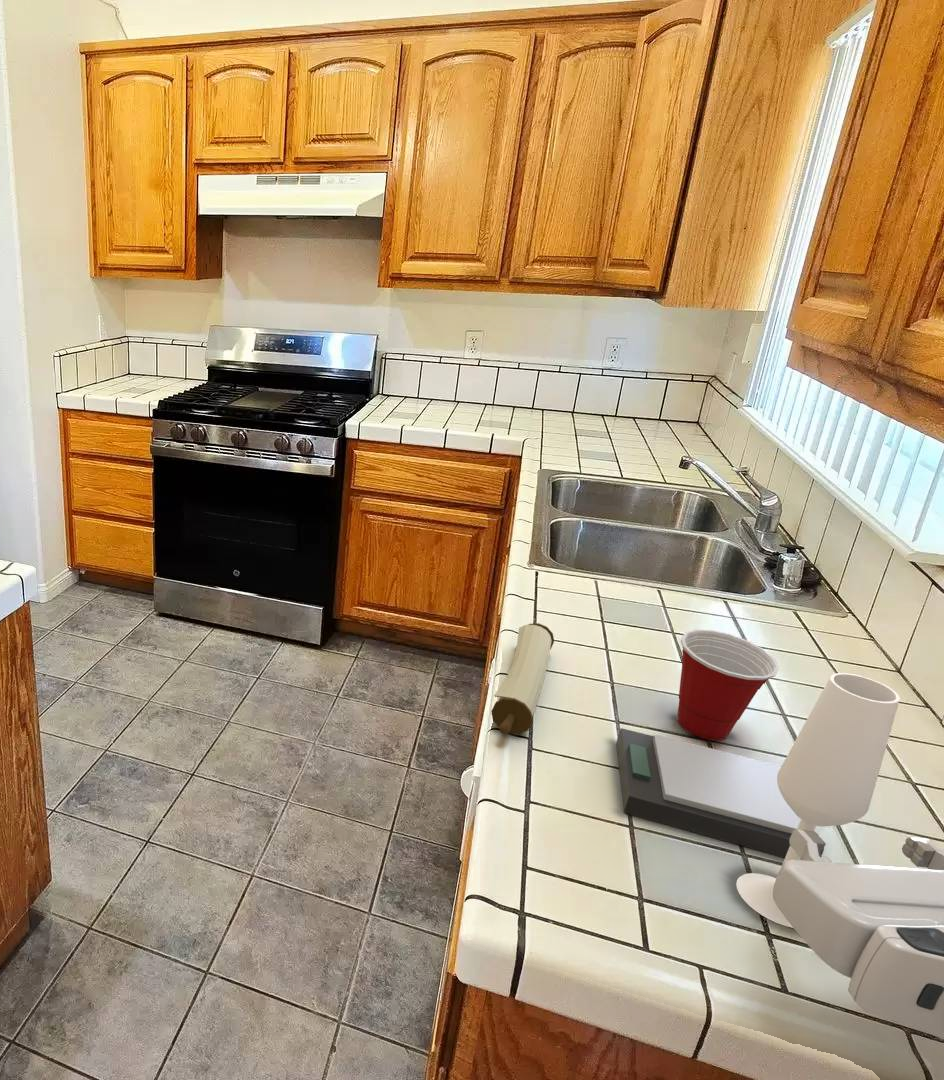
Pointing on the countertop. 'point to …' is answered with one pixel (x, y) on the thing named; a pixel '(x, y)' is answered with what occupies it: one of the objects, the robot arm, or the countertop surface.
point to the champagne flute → (830, 768)
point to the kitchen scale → (705, 791)
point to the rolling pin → (523, 680)
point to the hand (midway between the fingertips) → (856, 839)
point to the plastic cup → (719, 681)
